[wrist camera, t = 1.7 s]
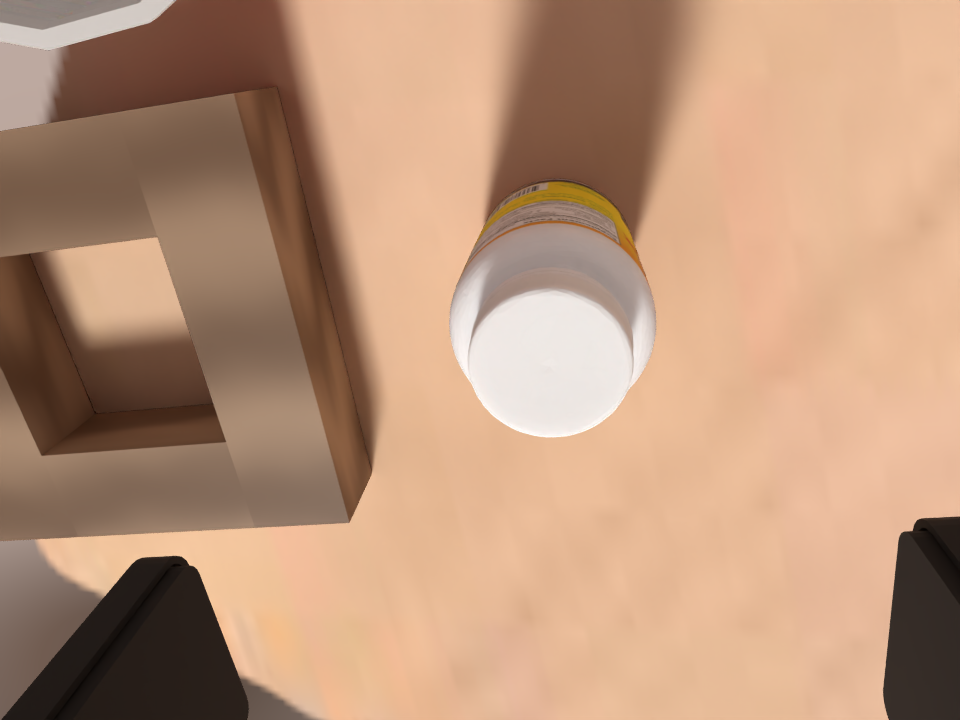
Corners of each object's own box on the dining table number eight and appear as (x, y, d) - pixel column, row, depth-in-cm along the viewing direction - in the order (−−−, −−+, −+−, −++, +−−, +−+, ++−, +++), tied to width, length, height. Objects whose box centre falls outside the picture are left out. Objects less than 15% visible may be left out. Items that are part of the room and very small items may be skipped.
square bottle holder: (-110, 149, 27) (-200, 163, 24) (277, 86, 24) (233, 93, 21) (50, 494, 33) (-4, 541, 30) (372, 473, 31) (349, 523, 28)
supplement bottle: (600, 340, 27) (617, 495, 18) (463, 296, 27) (408, 429, 18) (656, 201, 25) (709, 297, 15) (506, 153, 25) (468, 220, 15)
